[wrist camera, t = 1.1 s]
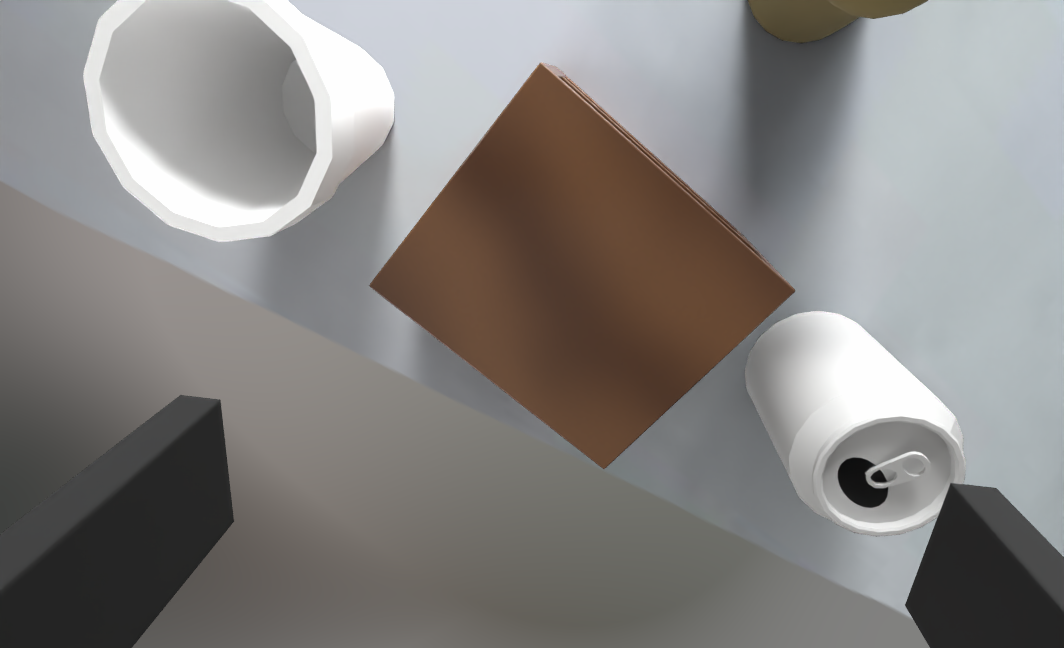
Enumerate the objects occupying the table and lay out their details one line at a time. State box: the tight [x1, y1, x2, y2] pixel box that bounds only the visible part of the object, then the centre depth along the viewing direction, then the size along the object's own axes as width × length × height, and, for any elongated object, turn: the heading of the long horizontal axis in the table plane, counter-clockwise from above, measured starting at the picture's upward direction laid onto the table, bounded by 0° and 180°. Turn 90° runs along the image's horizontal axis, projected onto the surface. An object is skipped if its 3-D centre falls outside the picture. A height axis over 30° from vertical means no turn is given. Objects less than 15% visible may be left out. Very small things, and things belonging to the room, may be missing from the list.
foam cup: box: [83, 0, 394, 242], centre depth 30 cm, size 10×9×13 cm
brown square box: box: [369, 63, 795, 469], centre depth 33 cm, size 12×14×10 cm
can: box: [745, 311, 966, 537], centre depth 33 cm, size 8×8×12 cm
